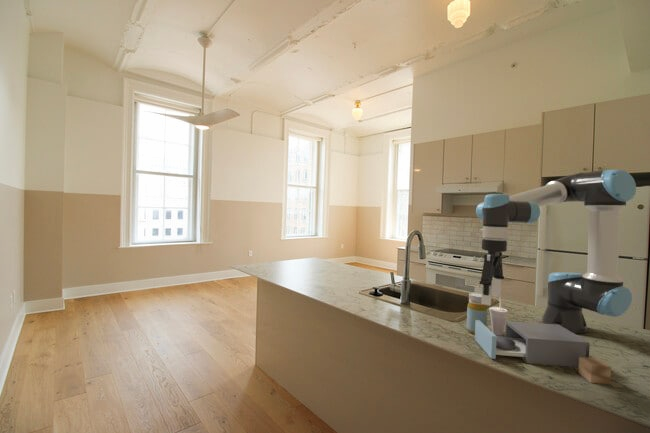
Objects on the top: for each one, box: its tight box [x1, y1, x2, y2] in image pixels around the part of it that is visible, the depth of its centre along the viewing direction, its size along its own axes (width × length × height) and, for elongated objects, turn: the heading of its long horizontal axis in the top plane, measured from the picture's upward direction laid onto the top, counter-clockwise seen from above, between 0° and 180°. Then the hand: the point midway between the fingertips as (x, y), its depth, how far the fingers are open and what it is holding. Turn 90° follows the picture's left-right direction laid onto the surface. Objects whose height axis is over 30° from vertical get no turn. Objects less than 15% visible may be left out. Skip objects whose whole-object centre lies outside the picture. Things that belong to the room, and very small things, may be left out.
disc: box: [496, 335, 515, 350], centre depth 105 cm, size 8×8×2 cm
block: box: [577, 357, 612, 385], centre depth 89 cm, size 5×5×5 cm
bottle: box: [466, 292, 488, 335], centre depth 121 cm, size 7×7×15 cm
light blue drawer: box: [474, 320, 526, 360], centre depth 105 cm, size 18×14×7 cm
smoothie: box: [489, 298, 509, 336], centre depth 120 cm, size 6×6×14 cm
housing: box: [504, 320, 591, 368], centre depth 103 cm, size 18×15×8 cm
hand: (491, 300), depth 105 cm, fingers open, 13 cm apart
